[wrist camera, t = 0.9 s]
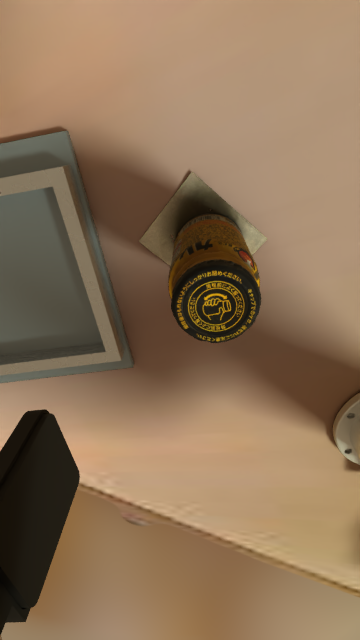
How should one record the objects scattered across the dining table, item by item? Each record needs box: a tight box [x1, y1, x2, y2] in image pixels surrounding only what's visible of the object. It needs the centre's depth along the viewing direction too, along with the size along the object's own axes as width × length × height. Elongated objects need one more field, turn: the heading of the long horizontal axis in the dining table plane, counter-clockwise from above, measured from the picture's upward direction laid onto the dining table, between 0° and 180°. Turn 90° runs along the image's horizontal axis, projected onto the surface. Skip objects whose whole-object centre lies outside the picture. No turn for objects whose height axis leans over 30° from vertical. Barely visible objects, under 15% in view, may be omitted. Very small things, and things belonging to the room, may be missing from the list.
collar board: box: [0, 131, 134, 383], centre depth 31 cm, size 22×18×3 cm
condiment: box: [139, 172, 267, 343], centre depth 25 cm, size 7×8×12 cm
